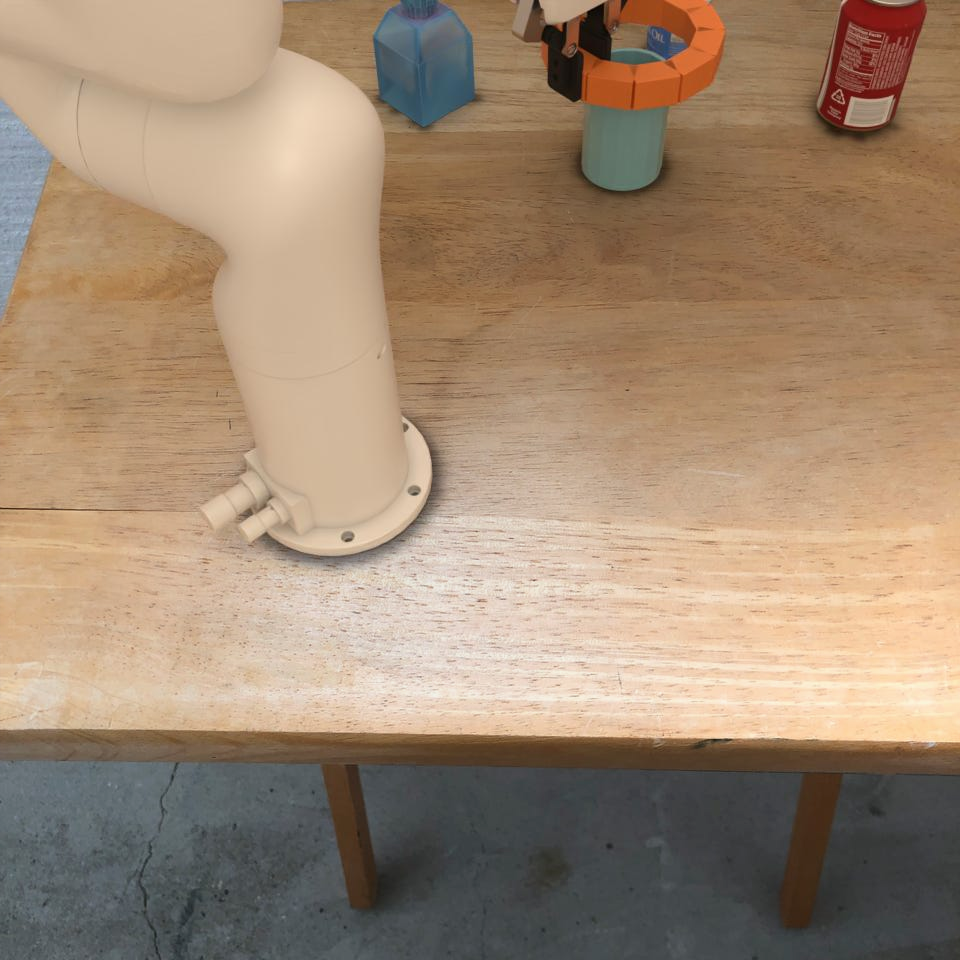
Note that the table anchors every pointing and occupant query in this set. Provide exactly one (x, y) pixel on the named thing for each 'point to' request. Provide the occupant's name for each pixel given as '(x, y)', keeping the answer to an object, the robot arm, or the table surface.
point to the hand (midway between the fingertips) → (578, 84)
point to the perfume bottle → (424, 60)
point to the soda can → (869, 62)
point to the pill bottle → (664, 41)
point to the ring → (663, 83)
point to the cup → (624, 137)
